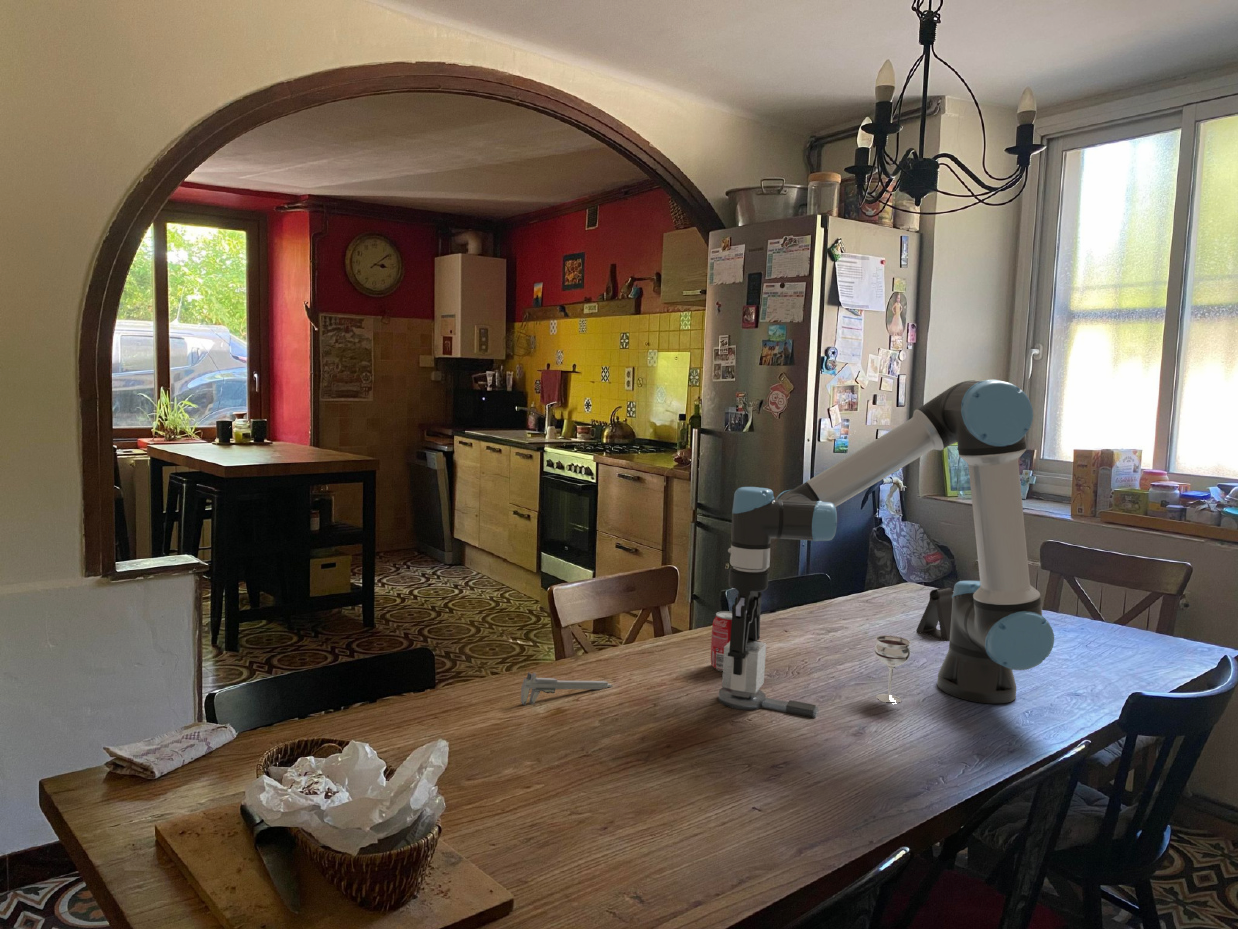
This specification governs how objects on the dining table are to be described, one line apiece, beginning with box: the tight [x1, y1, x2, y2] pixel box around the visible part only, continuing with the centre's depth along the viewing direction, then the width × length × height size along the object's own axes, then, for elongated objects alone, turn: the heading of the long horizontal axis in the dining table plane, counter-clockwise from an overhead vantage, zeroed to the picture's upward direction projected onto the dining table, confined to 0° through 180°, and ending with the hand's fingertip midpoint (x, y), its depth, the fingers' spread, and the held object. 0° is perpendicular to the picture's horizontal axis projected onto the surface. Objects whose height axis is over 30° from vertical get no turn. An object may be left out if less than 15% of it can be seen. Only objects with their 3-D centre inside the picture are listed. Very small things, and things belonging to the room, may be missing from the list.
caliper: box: [520, 672, 613, 706], centre depth 162 cm, size 20×1×6 cm, turn 125°
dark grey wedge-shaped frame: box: [916, 586, 954, 642], centre depth 214 cm, size 9×6×12 cm, turn 36°
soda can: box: [710, 610, 732, 672], centre depth 181 cm, size 7×7×12 cm
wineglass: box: [874, 634, 912, 704], centre depth 167 cm, size 7×7×12 cm
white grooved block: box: [721, 640, 767, 693], centre depth 162 cm, size 7×7×8 cm
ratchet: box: [718, 687, 819, 719], centre depth 161 cm, size 19×9×6 cm, turn 67°
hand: (742, 683), depth 163 cm, fingers closed on white grooved block, 7 cm apart
